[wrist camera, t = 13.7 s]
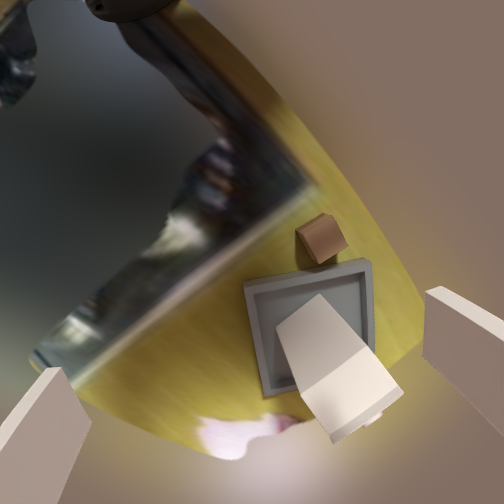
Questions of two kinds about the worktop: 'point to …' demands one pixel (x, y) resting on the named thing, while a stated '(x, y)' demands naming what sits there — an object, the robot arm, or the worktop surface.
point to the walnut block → (322, 237)
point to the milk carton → (335, 369)
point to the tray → (294, 297)
